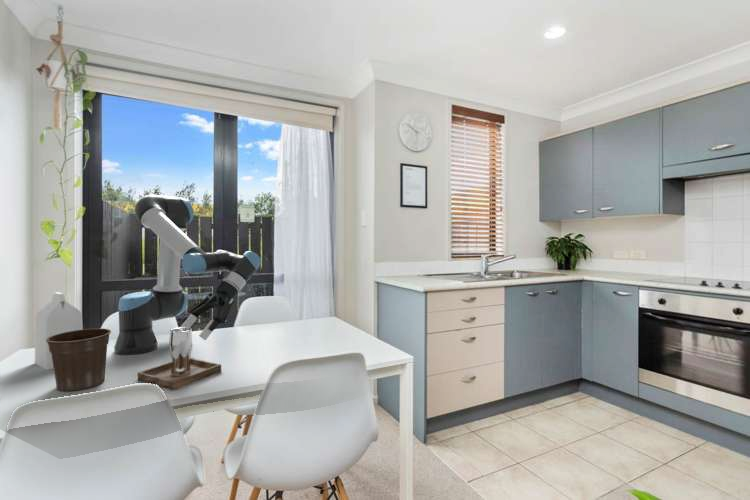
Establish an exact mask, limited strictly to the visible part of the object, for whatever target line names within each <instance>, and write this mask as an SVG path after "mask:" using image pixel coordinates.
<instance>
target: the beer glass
mask: <svg viewBox="0 0 750 500" xmlns="http://www.w3.org/2000/svg"><path fill="white" fill-rule="evenodd" d="M180 327H181V326H180ZM180 327H175V328H172V329H170V330H169V341H168V342H169V344H168V345H169V347H168V348H169V354H170V357H171V362H172V370H171V375H172V376H184V375H187V374H189V373H190V372H191V368H190V358H191V354H192V348H193V331H192V330H193V329H192V327H190V328H189V327H181V328H180Z"/></svg>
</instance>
